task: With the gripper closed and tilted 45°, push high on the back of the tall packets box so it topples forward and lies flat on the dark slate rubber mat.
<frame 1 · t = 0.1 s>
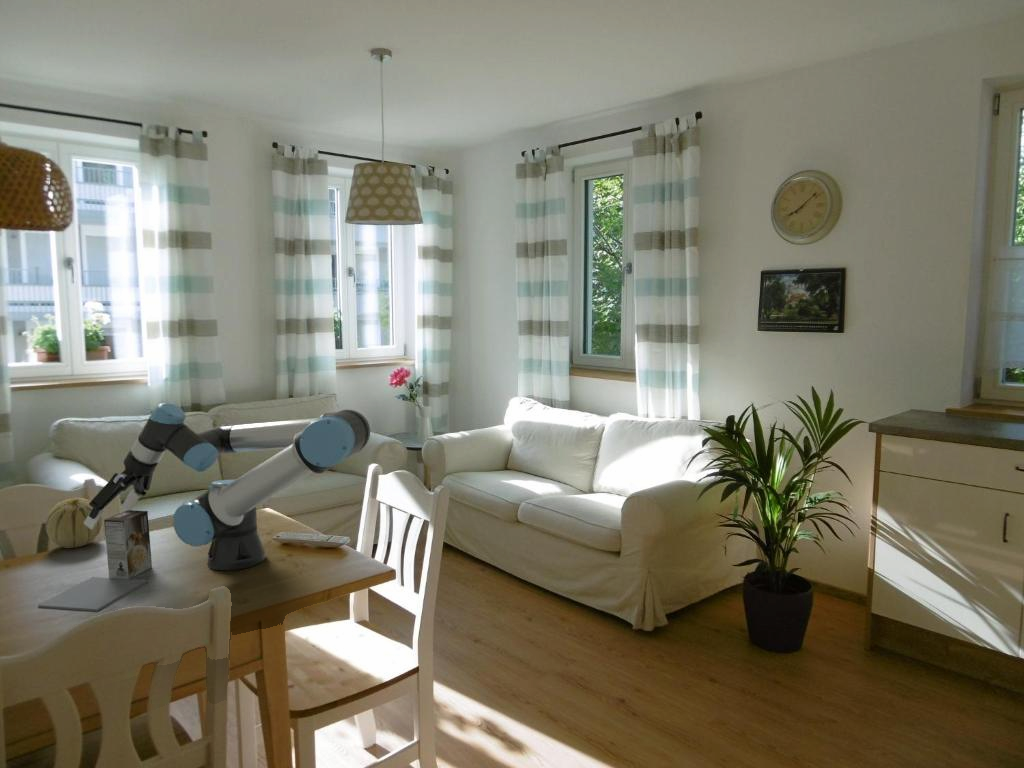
hand: (107, 518, 194), 15 cm above the table, tool tilted 35°, fingers open, 13 cm apart
slate mat: (95, 594, 182), on the table
coffee box: (130, 573, 197), on the table
cantaloupe: (76, 546, 218), on the table
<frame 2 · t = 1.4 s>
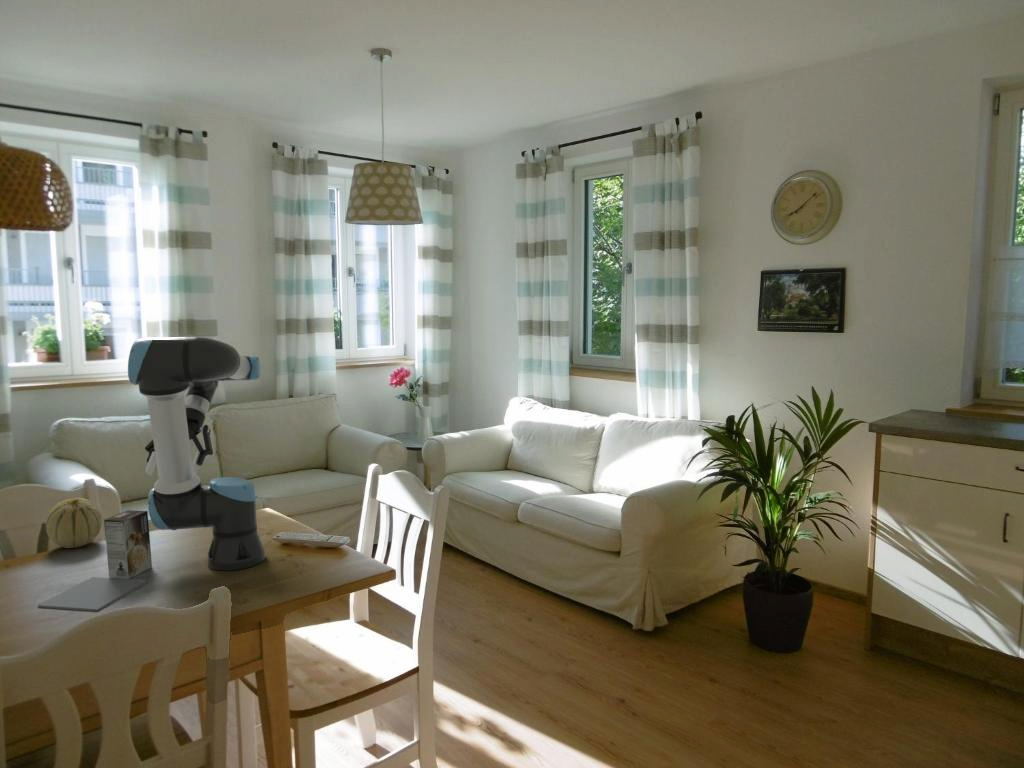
hand: (170, 473, 214), 22 cm above the table, tool tilted 40°, fingers open, 13 cm apart
nothing on the table moved.
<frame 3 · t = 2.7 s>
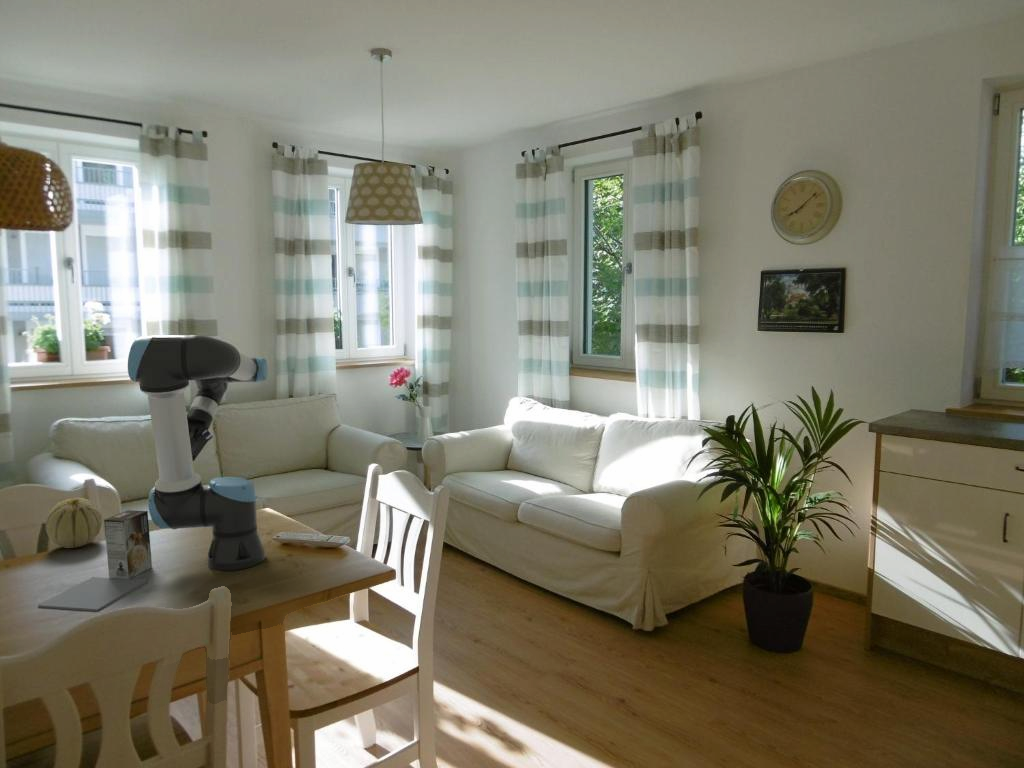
hand: (171, 479, 214), 21 cm above the table, tool tilted 45°, fingers closed
nothing on the table moved.
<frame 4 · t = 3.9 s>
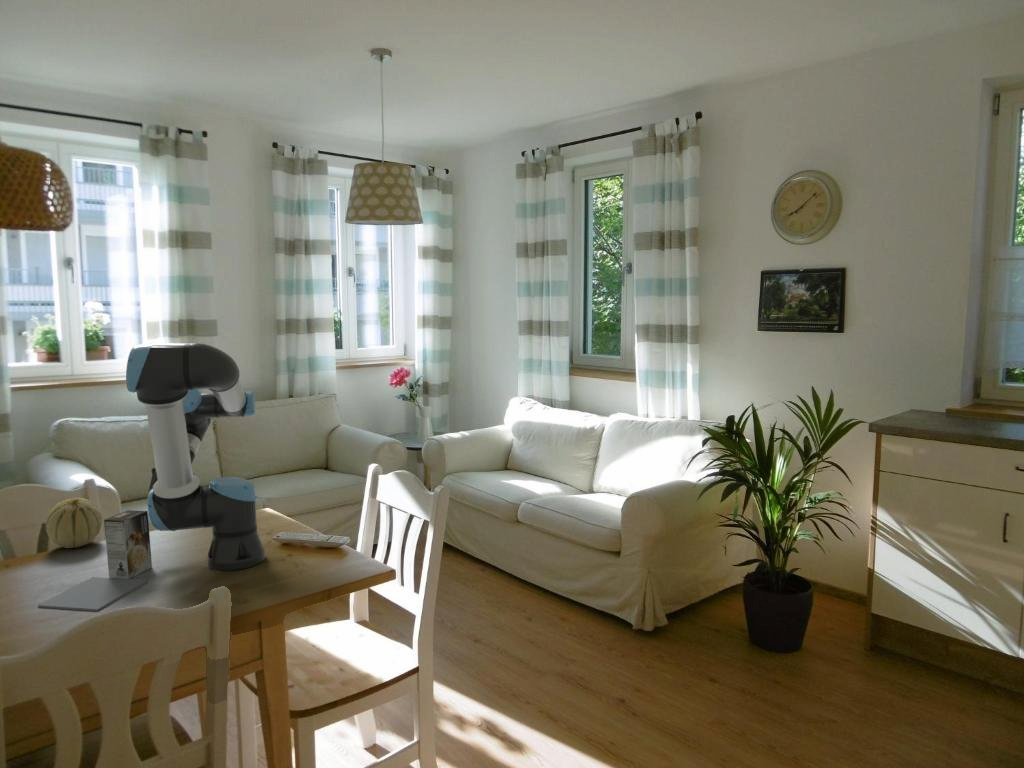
hand: (150, 521, 205), 11 cm above the table, tool tilted 45°, fingers closed
nothing on the table moved.
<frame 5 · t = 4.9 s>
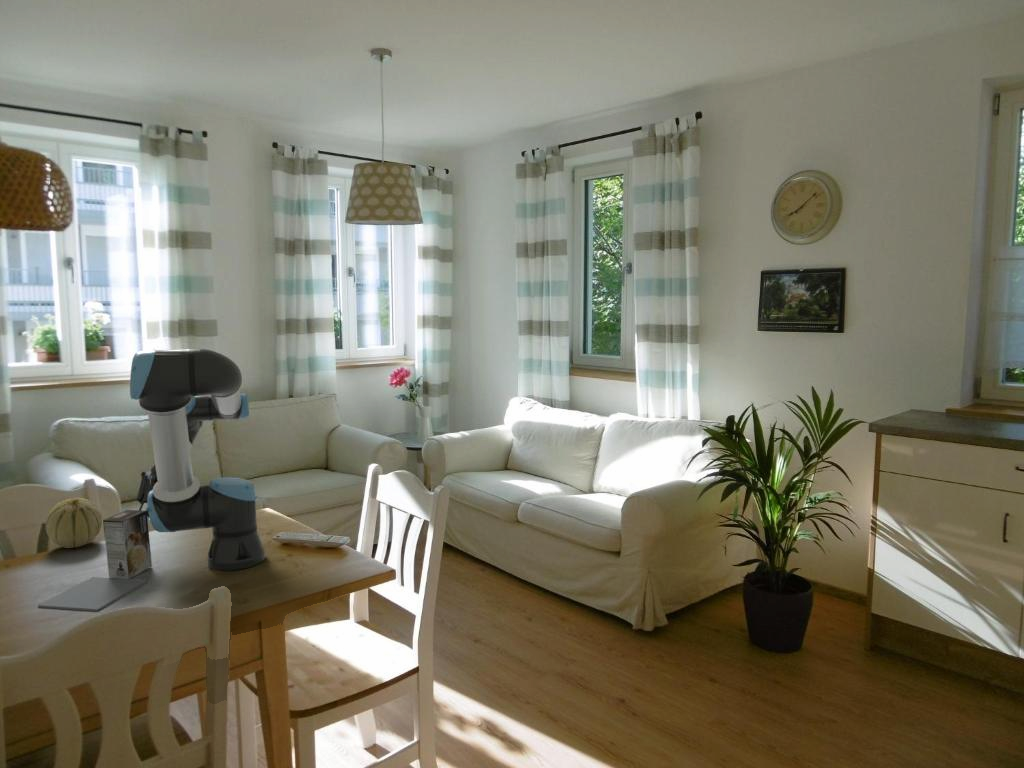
hand: (139, 526, 201), 11 cm above the table, tool tilted 45°, fingers closed
coffee box: (130, 573, 197), on the table, touching gripper
everything else where it was.
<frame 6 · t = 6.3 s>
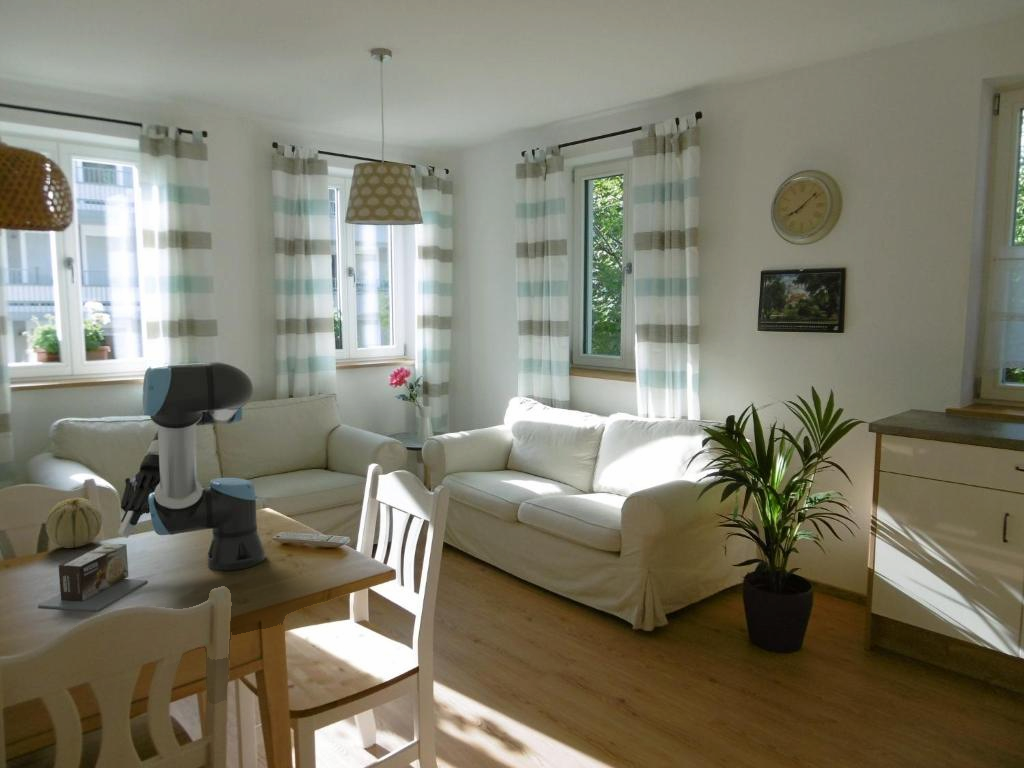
hand: (122, 535, 193), 11 cm above the table, tool tilted 45°, fingers closed
coffee box: (118, 560, 192), point 5 cm above the table, touching slate mat
everything else where it was.
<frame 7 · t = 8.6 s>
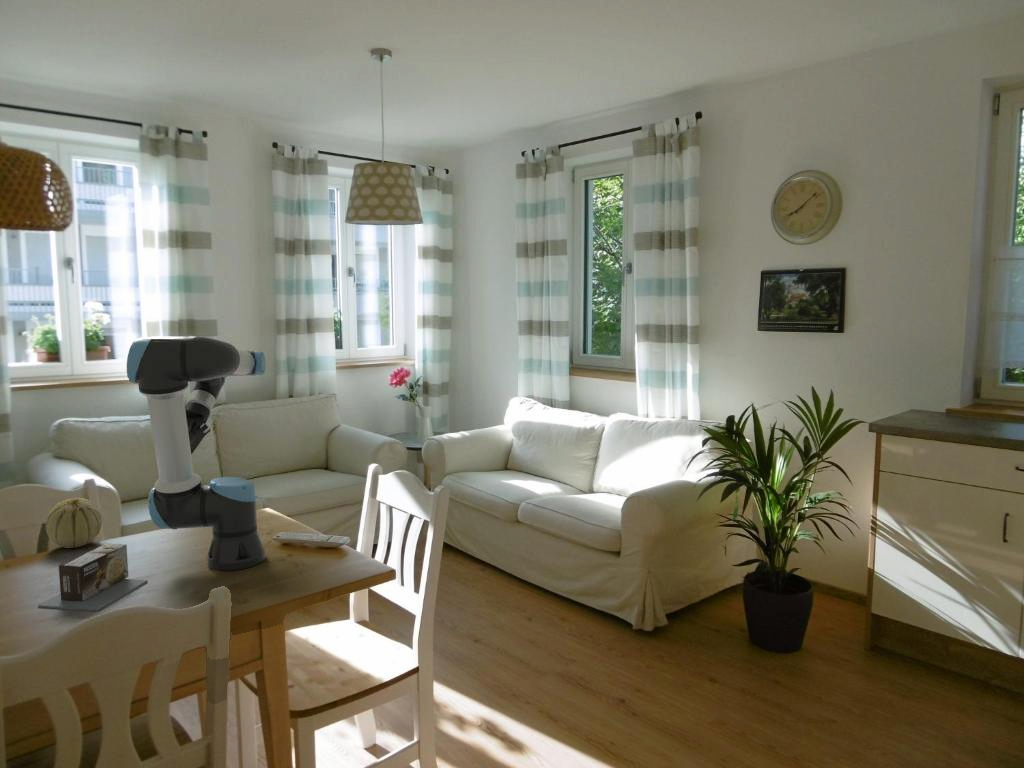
hand: (168, 473, 212), 23 cm above the table, tool tilted 45°, fingers closed
nothing on the table moved.
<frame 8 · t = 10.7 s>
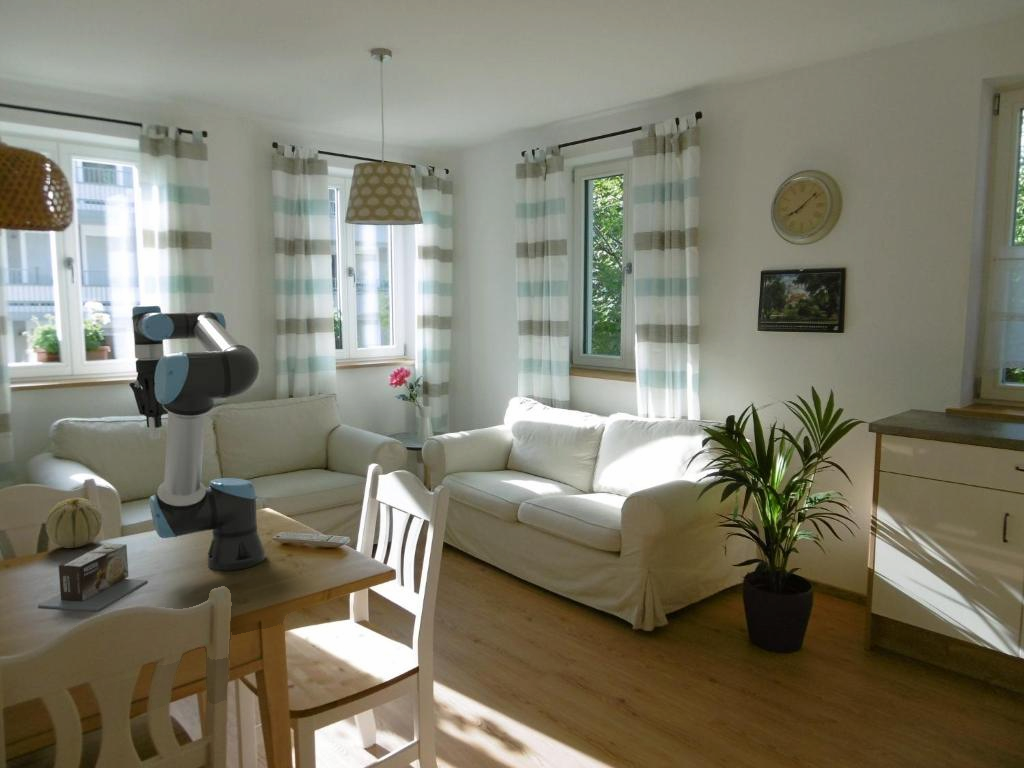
hand: (155, 438, 215), 32 cm above the table, tool pointing down, fingers closed
nothing on the table moved.
at the end: coffee box tilted 89°; coffee box touching slate mat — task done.
